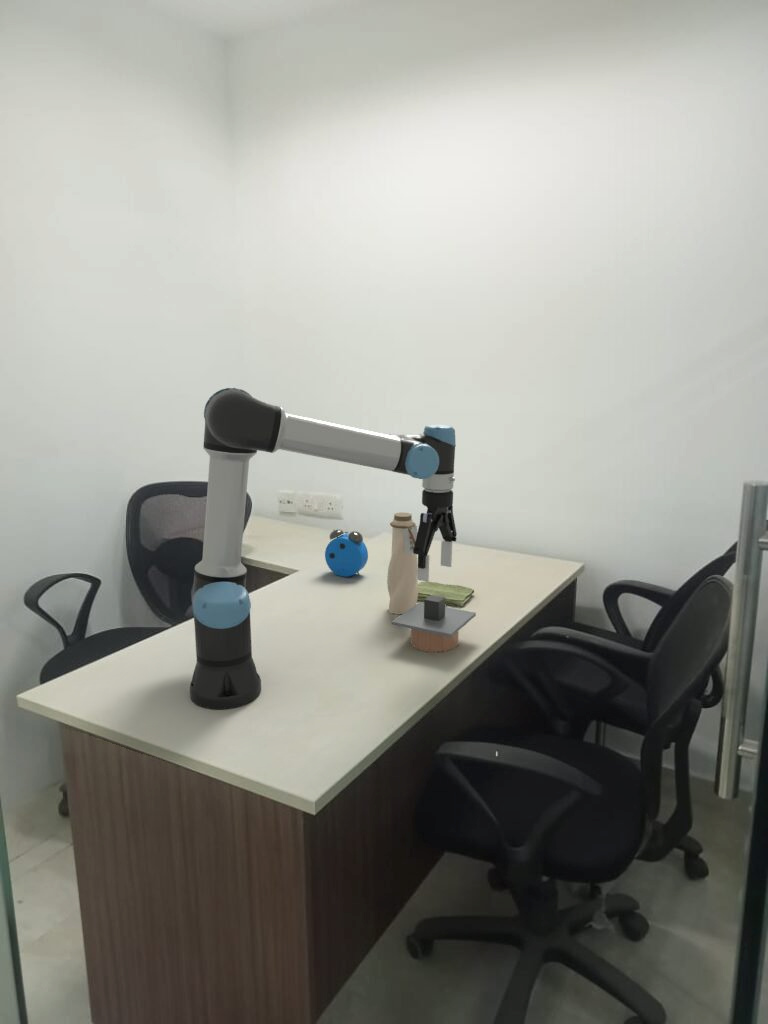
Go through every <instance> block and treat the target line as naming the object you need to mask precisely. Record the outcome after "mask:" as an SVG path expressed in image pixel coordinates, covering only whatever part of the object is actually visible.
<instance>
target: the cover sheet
mask: <svg viewBox="0 0 768 1024" xmlns="http://www.w3.org/2000/svg"><path fill="white" fill-rule="evenodd" d="M476 613H477V612H473V611H468V610H463V609H458V608H453V607H448V606H446V605H445V597H440V596H435V595H430V596H429V597H427V598H426V599H424V602H421V601H418V602H417V603H416V605H415V606H413V607H412V608H410V609H409V610H408V611H406V612H405V613H403V614H402V615H399V616H398V617H396V618H395V619H393V620H391V625H392V626H394V627H395V626H397V627H401V628H406V629H410V630H411V629H414V630H419V631H424V632H428V633H433V634H438V635H442V636H447V637H452V636H453V635H454V634H455V633H456V632H458V633H459V631H460V630H461V629H462V628H464V627H465V626H466V625H467V624H468V623H469V622H471V620H473V619H474V617H476V616H477V614H476Z"/></svg>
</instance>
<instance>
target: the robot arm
mask: <svg viewBox="0 0 768 1024" xmlns="http://www.w3.org/2000/svg"><path fill="white" fill-rule="evenodd" d="M203 418H204V434H203V446H202V447H203V450H204V451H205V452H206V454H207V455H208V456H209V462H208V463H209V464H208V475H207V476H208V479H207V490H206V491H207V493H206V505H205V506H206V507H205V518H204V519H205V520H204V530H203V532H204V533H203V543H202V559H201V561H199V562H198V563H196V564H195V566H194V574H193V575H194V576H193V584H192V588H191V591H190V597H191V604H192V613H193V621H194V636H195V654H196V662H195V663H196V664H195V667H194V670H193V674H192V678H191V681H190V683H189V684H190V685H189V695H190V700H191V701H192V702H193V703H194V704H195V705H197V706H199V707H202V708H204V709H205V708H206V709H210V710H211V709H213V710H214V709H215V710H224V709H225V710H226V709H233V708H237V707H241V706H245V705H247V704H248V703H251V702H253V701H254V700H256V699H257V698H258V697H259V695H260V694H261V692H262V680H261V677H260V674H259V673H258V671H257V667H256V663H255V662H254V659H253V653H252V648H253V647H252V629H251V609H252V608H251V607H252V606H251V605H252V602H251V599H250V594H249V592H248V590H247V589H246V583H247V582H246V581H247V572H248V571H247V570H248V569H247V567H245V565H244V564H243V563H242V562H241V561H242V552H243V551H242V549H243V548H242V547H243V540H244V538H243V537H244V528H245V514H246V513H245V512H246V504H247V503H246V501H247V490H248V481H249V480H248V478H249V477H248V476H249V468H250V467H249V466H250V460H251V459H252V458H253V457H254V456H255V455H257V453H258V452H259V451H260V452H265V453H271V454H274V453H276V452H277V451H278V450H280V451H281V450H282V451H287V452H292V453H296V454H300V455H301V454H303V455H305V456H306V455H307V456H312V457H316V458H323V459H328V460H333V461H338V462H341V463H342V462H343V463H348V464H354V465H359V466H364V467H369V468H374V469H378V470H383V471H389V472H393V473H397V474H403V475H407V476H410V477H411V478H414V479H418V480H422V482H421V483H422V484H421V485H422V486H421V487H422V488H423V489H422V491H421V494H422V495H421V504H422V505H423V506H424V507H426V508H427V509H426V513H424V512H421V513H420V515H419V516H420V517H419V518H420V519H419V525H418V528H417V537H416V541H415V546H414V550H413V553H414V554H417V581H421V582H430V581H429V580H430V579H429V578H430V576H429V575H430V554H429V551H430V548H431V545H432V543H433V539H434V536H435V533H436V532H438V530H439V532H440V534H441V535H440V536H441V537H442V539H443V540H441V543H440V544H441V545H440V566H442V567H447V568H452V562H453V561H452V560H453V542H457V528H456V523H455V518H454V517H455V516H454V513H453V512H454V510H453V508H454V507H453V504H454V491H453V490H452V489H454V482H455V481H456V478H455V477H454V475H455V474H454V473H455V457H456V454H455V453H456V446H457V445H456V429H455V428H454V427H453V426H450V425H446V424H428V425H426V426H424V428H423V429H424V430H423V432H422V433H419V434H391V433H389V434H384V433H379V432H375V431H369V430H367V429H365V430H364V429H359V428H357V427H356V428H355V427H351V426H348V425H347V426H346V425H342V424H337V423H333V422H329V421H324V420H319V419H314V418H311V417H305V416H301V415H297V414H291V413H287V412H286V411H285V409H283V407H282V406H278V405H273V404H270V403H266V402H264V401H261V400H259V399H258V398H255V397H253V395H251V394H250V393H249V392H248V391H245V390H244V389H240V388H236V387H233V388H232V387H226V388H222V389H219V390H217V391H215V393H213V394H212V395H211V396H210V397H209V398H208V400H207V401H206V403H205V406H204V410H203ZM257 451H258V452H257Z"/></svg>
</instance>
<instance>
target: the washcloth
mask: <svg viewBox="0 0 768 1024" xmlns="http://www.w3.org/2000/svg"><path fill="white" fill-rule="evenodd" d="M474 593H475V590H474V589H472V587H467V586H463V585H458V584H448V583H446V584H445V583H439V582H434V581H433V582H432V581H428V582H427V581H421V582H418V598H417V602H423V603H424V599H426V598H427V597H429V596H430V595H435V596H440V597H445V606H454V607H463V606H464V604H465V603H466V602H467V601H469V599H470V598H471V597H472V595H473V594H474Z"/></svg>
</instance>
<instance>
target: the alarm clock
mask: <svg viewBox="0 0 768 1024" xmlns="http://www.w3.org/2000/svg"><path fill="white" fill-rule="evenodd" d="M344 533H345V534H344ZM329 539H330V542H329V543H328V544H327V545H326V548H325V551H324V559H325V564H326V565H327V566H328V569H330V570H331V572H333V573H334V574H335V575H337V576H339V577H343V578H346V577H347V578H348V577H352V576H354V575H355V574H357V575H360V571H361V570H362V569H364V568H365V566H366V565H367V562H368V558H369V552H368V548H367V546H366V543H365V542H364V537H363V535H362V534H361V533H360V532H358V531H355V530H354V531H353V530H352V531H351V532H348V531H343V530H342V529H333V531H332V532H330V534H329Z"/></svg>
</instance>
